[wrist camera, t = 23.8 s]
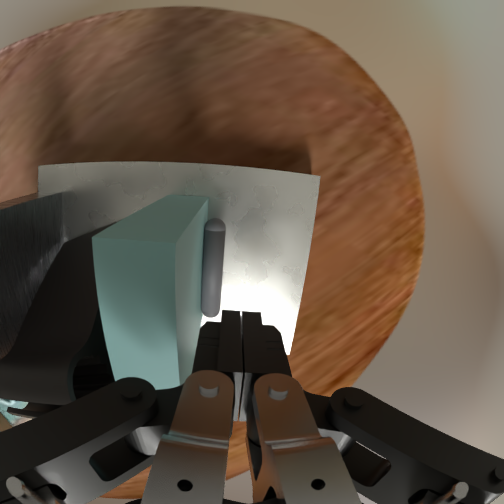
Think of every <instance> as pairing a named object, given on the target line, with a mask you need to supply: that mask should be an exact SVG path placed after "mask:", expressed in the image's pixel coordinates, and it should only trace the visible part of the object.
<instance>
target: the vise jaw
mask: <svg viewBox="0 0 504 504" xmlns="http://www.w3.org/2000/svg"><path fill="white" fill-rule="evenodd" d="M208 204H209V197H200V196H184V195H167V196H165V197H163V198H161V199H159V200H157V201H155V202H154V203H152V204H150V205H148V206H146V207H144V208H142V209H140V210H138V211H137V212H135V213H133V214H131V215H129V216H128V217H126V218H124V219H122V220H120V221H119V222H117V223H115V224H113V225H112V226H110V227H108V228H106V229H105V230H103V231H101V232H100V233H98V234H96V235H95V236H93V237H92V247H93V260H94V270H95V279H96V287H97V295H98V302H99V308H100V314H101V320H102V326H103V331H104V336H105V341H106V346H107V350H108V355H109V359H110V363H111V367H112V371H113V375H114V379H115V381H117V380H119V379H122V378H126V377H138V378H142V379H145V380H146V381H148V382H150V383H151V384H152V385H153V386H154V388H155V390H159V389H169V388H174V387H177V386H180V385H182V384H183V383H184V382H185V380H186V379H187V377H188V376H189V375H191V373H192V368H193V363H194V357H195V352H196V347H197V341H198V336H199V331H200V327H201V323H202V317H203V315H204V316H206V317H208V318H214V317H216V316H217V315H218V314H219V312H220V307H221V290H222V275H223V261H224V247H225V235H226V226H225V223H224V222H223V221H222V220H221V219H219V218H211V219H209V220H208V221H207V218H208Z"/></svg>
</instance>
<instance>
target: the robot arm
mask: <svg viewBox="0 0 504 504" xmlns="http://www.w3.org/2000/svg"><path fill="white" fill-rule="evenodd" d="M238 410H239V421H246V423H247V432H246V438H245V439H246V447H247V454H248V460H249V466H250V472H251V478H252V485H253V503H252V504H364V503H361V501H360V499H359V496H358V494H357V492H358V493H360V494H362V495H363V496H365V497H367V498H369V499H370V500H372V501H374V502H375V503H377V504H490V503H491V502H492V501H494V500H495V499H496V498H498V497H499V496H500V495H502V494H503V493H504V459H501V458H499V457H497V456H494V455H492V454H489V453H487V452H484V451H482V450H480V449H478V448H475V447H473V446H471V445H468V444H466V443H464V442H462V441H459V440H457V439H455V438H453V437H451V436H449V435H447V434H445V433H443V432H441V431H438V430H437V429H434V428H432V427H430V426H428V425H426V424H424V423H422V422H420V421H419V420H417V419H415V418H413V417H411V416H409V415H407V414H405V413H403V412H401V411H399V410H398V409H396V408H394V407H392V406H390V405H388V404H387V403H384V402H383V401H381V400H379V399H378V398H376V397H374V396H372V395H370V394H368V393H367V392H365V391H363V390H361V389H358V388H353V387H345V388H340V389H338V390H336V391H335V392H334V393H333V394H332V396H331V397H326V396H321V395H316V394H312V393H309V392H306V391H304V390H303V389H302V387H301V385H300V383H299V382H298V381H297V380H296V379H294V378H292V374H291V370H290V366H289V362H288V358H287V355H286V351H285V347H284V343H283V339H282V335H281V332H280V331H279V330H278V329H277V328H276V327H275V326H274V325H263V322H262V316H261V312H255V311H242V312H241V311H239V310H225V309H222V313H221V322H215V321H206V322H205V323H204V324H203V325H202V326H201V327H200V331H199V336H198V341H197V347H196V352H195V357H194V363H193V368H192V373H191V375H189V376H188V377H187V379H186V380H185V382H184V383H183V384H182V385H180V386H177V387H174V388H169V389H159V390H155V388H154V386H153V385H152V384H151V383H150V382H148V381H146V380H145V379H142V378H138V377H126V378H122V379H119V380H117V381H115V382H113V383H111V384H109V385H107V386H105V387H103V388H100V389H98V390H96V391H94V392H92V393H90V394H88V395H86V396H84V397H81V398H79V399H77V400H75V401H73V402H71V403H68V404H66V405H64V406H62V407H60V408H57V409H55V410H53V411H51V412H48V413H46V414H44V415H41V416H39V417H37V418H34V419H32V420H29V421H27V422H25V423H22V424H20V425H17V426H15V427H12V428H10V429H7V430H5V431H2V432H0V504H86V503H88V502H90V501H92V500H94V499H96V498H97V497H99V496H101V495H103V494H105V493H107V492H108V491H110V490H112V489H114V488H115V487H117V486H119V485H120V484H122V483H124V482H125V481H127V480H129V479H130V478H132V477H133V476H135V475H137V474H138V473H140V472H141V471H143V470H144V469H146V468H147V467H149V466H150V465H152V467H151V470H150V473H149V477H148V480H147V483H146V487H145V490H144V493H143V497H142V499H137V500H134V501H131V502H128V503H126V504H246V503H241V502H236V501H231V500H227V499H223V497H224V487H225V477H226V467H227V457H228V447H229V438H230V437H231V435H232V428H233V421H237V419H238ZM356 441H357V442H359V443H360V444H362V445H364V446H365V447H367V448H369V449H371V450H372V451H374V452H376V453H377V454H379V455H381V456H383V457H384V458H386V459H384V458H382V457H380V456H378V455H377V454H375V453H373V452H371V451H370V450H368V449H366V448H365V447H363V446H361V445H360V444H358V443H357V442H356Z"/></svg>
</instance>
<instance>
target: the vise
mask: <svg viewBox="0 0 504 504" xmlns="http://www.w3.org/2000/svg"><path fill="white" fill-rule="evenodd" d="M319 183H320V176H316V175H310V174H303V173H296V172H288V171H280V170H271V169H262V168H253V167H242V166H231V165H217V164H202V163H182V162H146V161H119V162H84V163H66V164H52V165H41V166H38V193H34V194H30V195H26V196H22V197H19V198H15V199H12V200H8V201H5V202H1V203H0V359H2V358H3V357H4V356H6V355H7V354H8V352H9V351H10V350H11V348H12V347H13V345H14V343H15V341H16V338H17V336H18V333H19V331H20V328H21V326H22V323H23V321H24V319H25V316H26V314H27V312H28V310H29V308H30V305H31V303H32V301H33V299H34V297H35V295H36V293H37V291H38V289H39V287H40V285H41V283H42V281H43V279H44V277H45V275H46V273H47V271H48V270H49V268H50V266H51V264H52V262H53V261H54V259H55V257H56V255H57V254H58V252H59V250H60V249H61V247H62V245H63V244H64V242H67V241H69V240H71V239H74V238H76V237H79V236H81V235H84V234H87V233H89V232H92V231H94V230H97V229H100V228H102V227H105V226H108V225H110V224H113V223H116V222H119V221H120V220H122V219H124V218H126V217H128V216H129V215H131V214H133V213H135V212H137V211H138V210H140V209H142V208H144V207H146V206H148V205H150V204H152V203H154V202H155V201H157V200H159V199H161V198H163V197H165V196H167V195H184V196H200V197H209V204H208V218H207V221H208V220H209V219H211V218H219V219H221V220H222V221H223V222H224V223H225V226H226V235H225V247H224V261H223V275H222V290H221V307H220V312H219V314H218V315H217V316H216V317H214V318H208V317H206V316H204V315H203V317H202V323H201V326H202V325H203V324H204V323H205V322H206V321H215V322H221V313H222V309H225V310H239V311H241V312H242V311H255V312H261V316H262V322H263V325H274V326H275V327H276V328H277V329H278V330H279V331H280V332H281V335H282V339H283V343H284V347H285V351H286V355H289V353H290V349H291V344H292V340H293V335H294V331H295V326H296V321H297V316H298V311H299V306H300V301H301V296H302V291H303V285H304V280H305V274H306V269H307V263H308V257H309V251H310V245H311V239H312V233H313V226H314V220H315V213H316V206H317V199H318V191H319Z"/></svg>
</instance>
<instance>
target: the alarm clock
mask: <svg viewBox="0 0 504 504" xmlns="http://www.w3.org/2000/svg"><path fill="white" fill-rule="evenodd" d="M10 428H12V426H11V425H10V424H9V422H8V421H7V420H6V419H5V417H4V416H3V415H2V414H1V413H0V432H2V431H5V430H7V429H10Z"/></svg>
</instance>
